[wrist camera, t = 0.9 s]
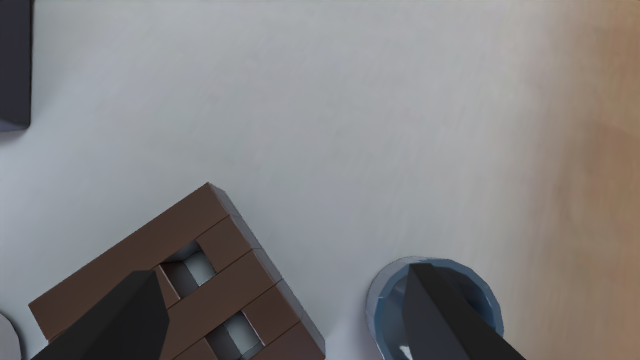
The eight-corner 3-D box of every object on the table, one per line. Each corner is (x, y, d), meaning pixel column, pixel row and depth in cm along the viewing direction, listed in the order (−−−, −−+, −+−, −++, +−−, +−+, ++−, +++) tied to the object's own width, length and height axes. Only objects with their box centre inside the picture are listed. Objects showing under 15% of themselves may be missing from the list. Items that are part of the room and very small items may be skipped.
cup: (494, 323, 23) (531, 339, 19) (409, 391, 22) (428, 424, 18) (427, 234, 24) (448, 233, 20) (343, 297, 23) (348, 309, 19)
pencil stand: (325, 341, 22) (326, 358, 19) (165, 463, 21) (134, 506, 18) (224, 190, 24) (207, 181, 21) (71, 295, 23) (26, 304, 20)
